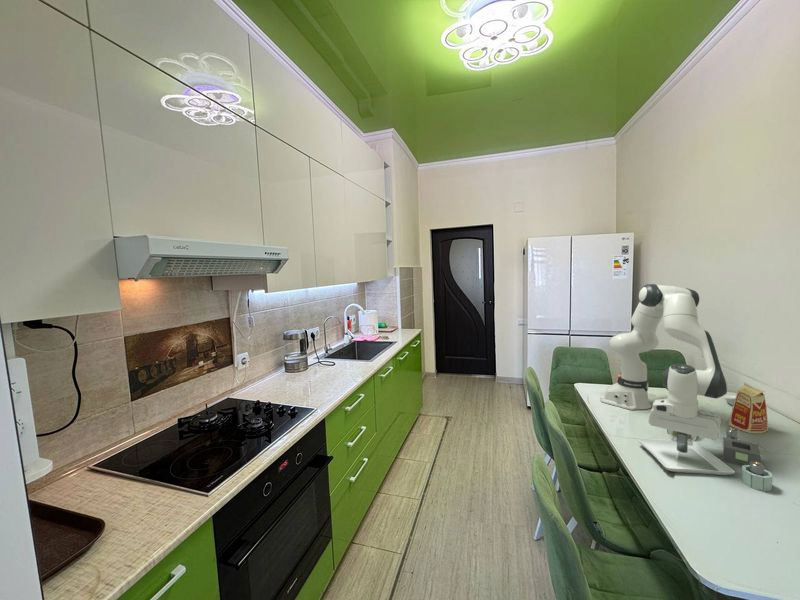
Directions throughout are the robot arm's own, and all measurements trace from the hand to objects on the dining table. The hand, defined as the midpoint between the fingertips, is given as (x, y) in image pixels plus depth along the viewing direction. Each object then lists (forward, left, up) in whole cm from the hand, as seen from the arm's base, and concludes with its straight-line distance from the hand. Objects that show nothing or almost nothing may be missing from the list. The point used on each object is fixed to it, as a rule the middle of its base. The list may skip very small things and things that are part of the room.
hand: (682, 442), depth 123 cm
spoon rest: (+19, +67, -7) cm, 70 cm away
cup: (+19, -5, -7) cm, 21 cm away
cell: (0, 0, -3) cm, 3 cm away
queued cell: (+14, +22, -7) cm, 27 cm away
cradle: (+16, +11, -7) cm, 20 cm away
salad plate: (0, -1, -7) cm, 7 cm away
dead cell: (+19, -5, -6) cm, 21 cm away
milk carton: (+20, +45, -7) cm, 50 cm away
